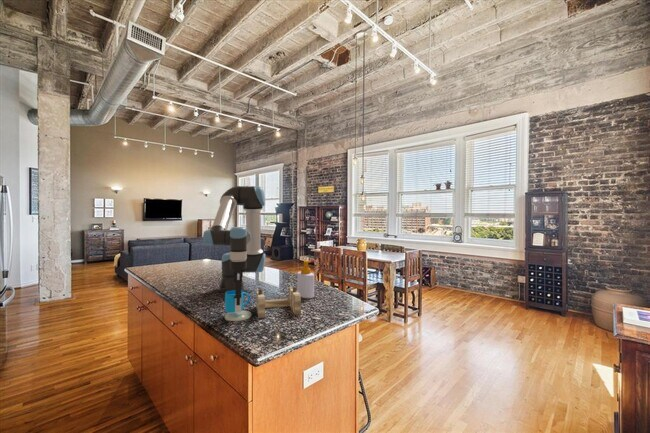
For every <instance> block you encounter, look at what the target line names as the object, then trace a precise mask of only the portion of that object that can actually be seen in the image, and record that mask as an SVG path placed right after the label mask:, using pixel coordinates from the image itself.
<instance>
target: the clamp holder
mask: <svg viewBox="0 0 650 433" xmlns="http://www.w3.org/2000/svg"><path fill="white" fill-rule="evenodd" d="M255 292H256V295H255V296H256V297H255V300H256V302H255V303H256V304H255V306H256V313H257V317H258V319H264V318H266V308H267V309H268V308H280V307H290V308H291V310H292V312H293V314H294V315H301V314H302V312H301V311H302V297H301V295H300V293H299V292H298V291H297V286H289V287H288V298H279V299H266V297H265V294H264V290H263V288H258V289H256V290H255Z"/></svg>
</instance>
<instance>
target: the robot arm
mask: <svg viewBox="0 0 650 433" xmlns="http://www.w3.org/2000/svg"><path fill="white" fill-rule="evenodd" d="M265 195H266V194H265V191H264V189H263V187H261V186H253V185H252V186H251V185H250V186H248V185H247V186H246V185H245V186H241V185H240V186H239V185H237V186H235V185H234V186H232V187H230V188H229V189H227V190H226V191H225V192H224V193H223V194H222V195H221V196H220V199H219V207H218V209H217V212H216V215H215V217H214V220H213V223H212V226H211V228H210V229H207V230H204V231H203V234H202V241H203V244H204V245H205V246H229V252H226V253H224V254H222V256H221V279H220V282H219V284H218V291H219V292H221V293H225V292H227V291H230V290H235V297H234V298H235V312H241V290H242V291H243V290H244V289H245V284H244V282H243V273H244V274H245V273H253V274H254V273H255V274H256V273H262V272H263V271H264V270H265V264H266V257H267V256H266V253H264V250H263V249H262V248H261V247H262V246H261V242H262V241H261V211H262V210H263V208H264V206H266V199H265V198H266V197H265ZM237 206H243V207H242V208H243V210H244V211H245V226H246V227H243V226H236V227H235V226H234V227H231V228H230V229H228V227H229V224H230V221H231V217H232V214H233V211H234V209H235V208H236V207H237Z"/></svg>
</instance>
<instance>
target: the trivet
mask: <svg viewBox="0 0 650 433" xmlns="http://www.w3.org/2000/svg"><path fill="white" fill-rule="evenodd" d="M251 317H252V312H251V311H249V310H244V309H243V310H242V311H241V312H235V313H229V312H226V313H225V314H224V320H226V321H228V322H242V321H245V320H248V319H250V318H251Z"/></svg>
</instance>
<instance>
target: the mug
mask: <svg viewBox="0 0 650 433" xmlns="http://www.w3.org/2000/svg"><path fill="white" fill-rule="evenodd" d="M244 295H246V297H247V299H246V302H245V303H244ZM250 296H251V295H250V294H249V293H248V292H245V291H243V290H241V311H242V310H244V307H245V306H247V305H248V304H249V302H250V299H251V297H250ZM234 297H235V290H230V291H227V292H224V312H225V313H235V298H234Z"/></svg>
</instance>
